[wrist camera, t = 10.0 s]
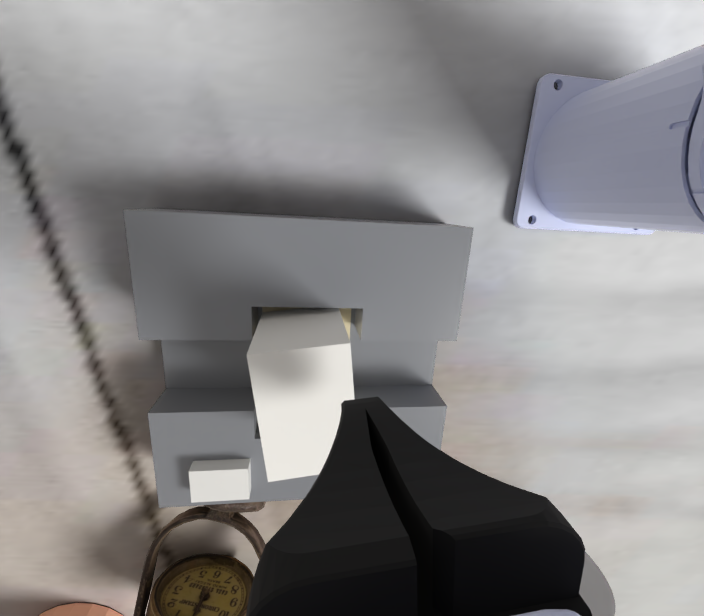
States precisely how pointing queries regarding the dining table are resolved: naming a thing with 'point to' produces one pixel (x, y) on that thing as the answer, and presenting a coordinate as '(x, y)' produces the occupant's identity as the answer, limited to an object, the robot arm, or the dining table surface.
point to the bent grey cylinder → (596, 590)
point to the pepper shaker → (80, 610)
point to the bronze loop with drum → (201, 571)
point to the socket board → (274, 295)
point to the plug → (299, 387)
